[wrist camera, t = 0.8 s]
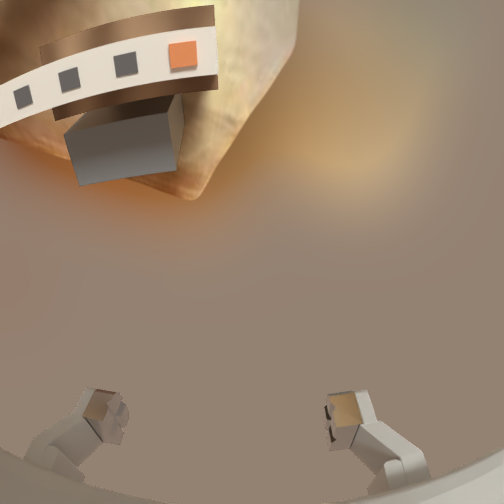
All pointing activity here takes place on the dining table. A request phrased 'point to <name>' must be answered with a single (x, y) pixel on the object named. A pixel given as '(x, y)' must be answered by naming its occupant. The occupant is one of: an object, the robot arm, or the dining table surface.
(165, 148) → the dark grey block
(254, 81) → the dining table surface
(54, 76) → the power strip
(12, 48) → the dining table surface
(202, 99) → the dining table surface
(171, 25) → the walnut post
